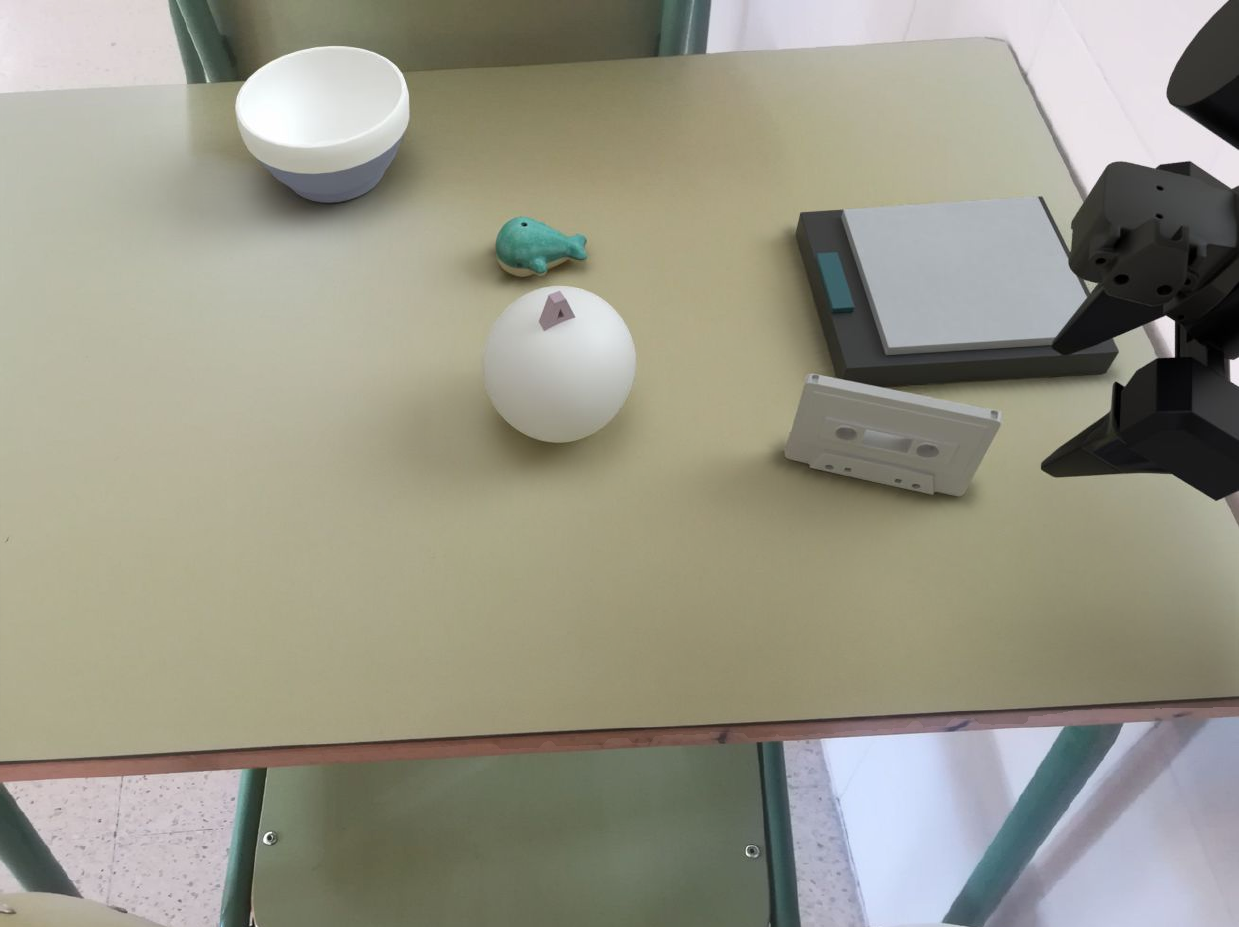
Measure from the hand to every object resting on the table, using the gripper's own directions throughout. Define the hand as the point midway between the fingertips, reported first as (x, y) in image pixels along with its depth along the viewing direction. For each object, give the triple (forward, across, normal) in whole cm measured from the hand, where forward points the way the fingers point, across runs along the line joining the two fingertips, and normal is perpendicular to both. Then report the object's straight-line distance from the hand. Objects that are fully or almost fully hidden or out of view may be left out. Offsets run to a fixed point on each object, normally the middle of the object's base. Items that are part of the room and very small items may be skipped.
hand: (1052, 408), depth 58 cm
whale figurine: (+27, -18, -26) cm, 41 cm away
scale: (+13, -22, +2) cm, 26 cm away
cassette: (+14, -3, -1) cm, 15 cm away
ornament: (+24, -2, -21) cm, 32 cm away
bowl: (+36, -24, -46) cm, 63 cm away
